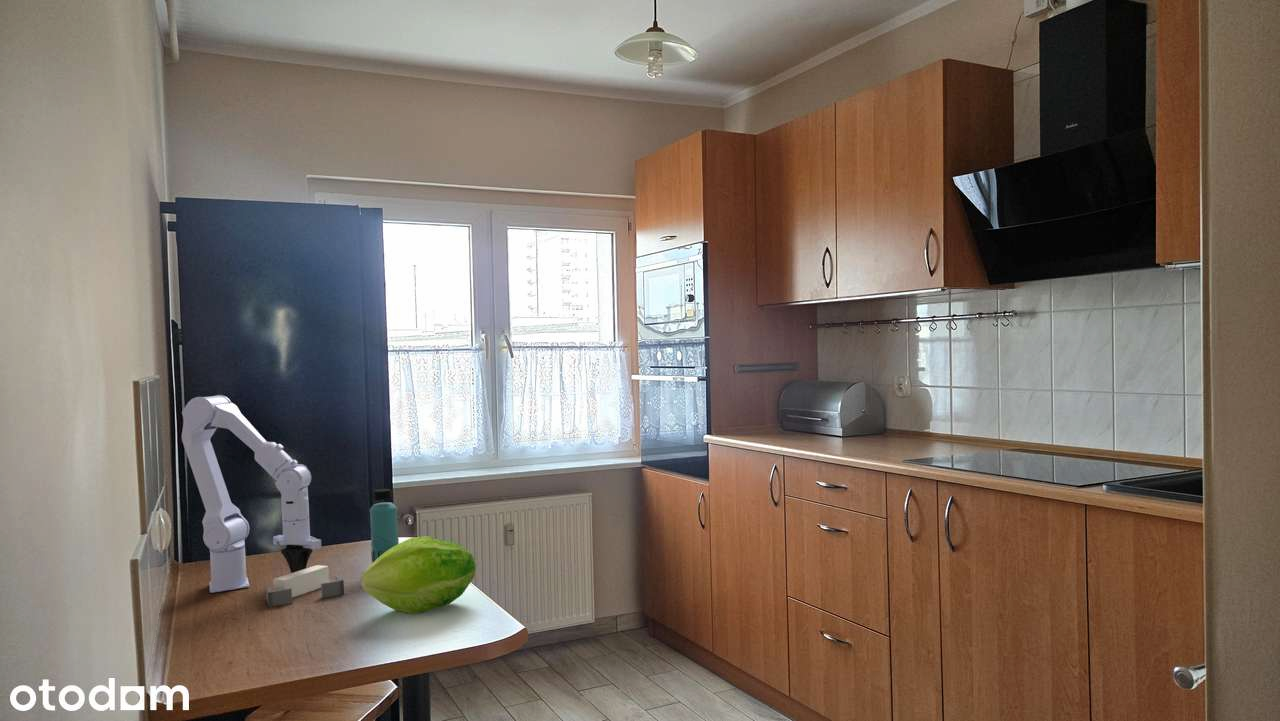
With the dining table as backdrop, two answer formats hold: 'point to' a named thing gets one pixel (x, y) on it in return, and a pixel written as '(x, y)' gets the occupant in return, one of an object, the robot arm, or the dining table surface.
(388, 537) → the beverage bottle
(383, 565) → the green papaya
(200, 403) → the robot arm
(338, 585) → the end cap
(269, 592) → the end cap
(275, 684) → the dining table surface
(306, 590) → the cream rectangular block
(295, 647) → the dining table surface
